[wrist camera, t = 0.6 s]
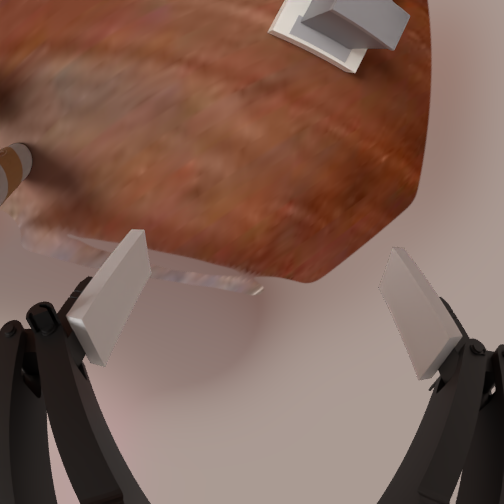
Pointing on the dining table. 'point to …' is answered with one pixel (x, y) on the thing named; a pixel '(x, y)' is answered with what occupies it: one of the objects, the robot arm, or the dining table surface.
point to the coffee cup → (13, 168)
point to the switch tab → (358, 22)
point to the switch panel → (313, 37)
